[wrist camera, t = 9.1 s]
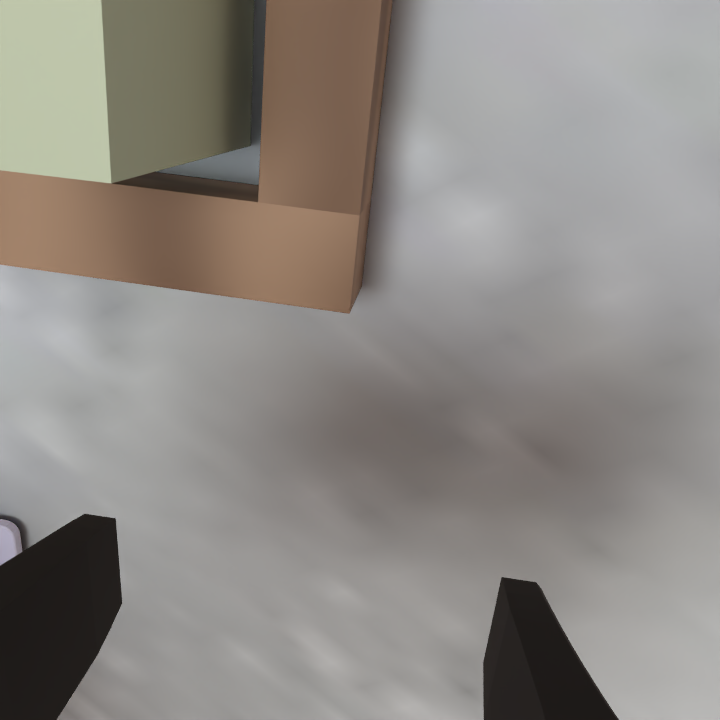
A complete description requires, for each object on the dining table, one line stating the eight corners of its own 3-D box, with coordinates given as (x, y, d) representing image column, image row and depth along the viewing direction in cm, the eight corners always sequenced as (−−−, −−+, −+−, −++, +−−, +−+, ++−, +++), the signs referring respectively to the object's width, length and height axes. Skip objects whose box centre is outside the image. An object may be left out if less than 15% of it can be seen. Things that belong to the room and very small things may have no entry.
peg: (110, 130, 18) (-120, 156, 11) (101, -36, 17) (-175, -137, 9) (250, 145, 18) (111, 183, 10) (255, -22, 16) (94, -116, 9)
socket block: (3, 237, 20) (-55, 257, 17) (-49, -222, 15) (-136, -277, 13) (361, 286, 19) (349, 313, 17) (412, -184, 15) (406, -236, 12)
